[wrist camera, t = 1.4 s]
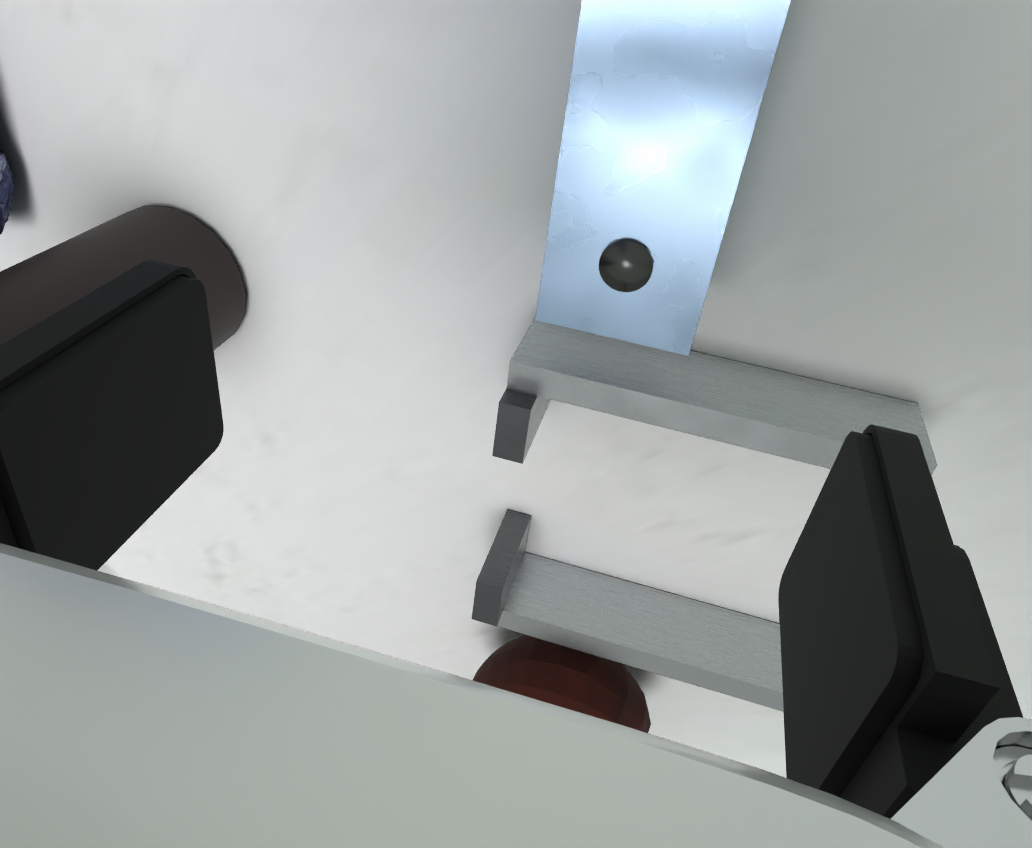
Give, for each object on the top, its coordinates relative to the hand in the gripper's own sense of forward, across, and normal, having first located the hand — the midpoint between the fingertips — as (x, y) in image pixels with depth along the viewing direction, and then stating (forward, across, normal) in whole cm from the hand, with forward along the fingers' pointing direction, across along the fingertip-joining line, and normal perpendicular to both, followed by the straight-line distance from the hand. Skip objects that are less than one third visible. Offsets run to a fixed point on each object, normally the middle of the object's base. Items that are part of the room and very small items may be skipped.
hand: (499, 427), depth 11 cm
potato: (+19, -2, +27) cm, 33 cm away
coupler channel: (+19, -5, +15) cm, 25 cm away
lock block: (+19, -1, 0) cm, 19 cm away
